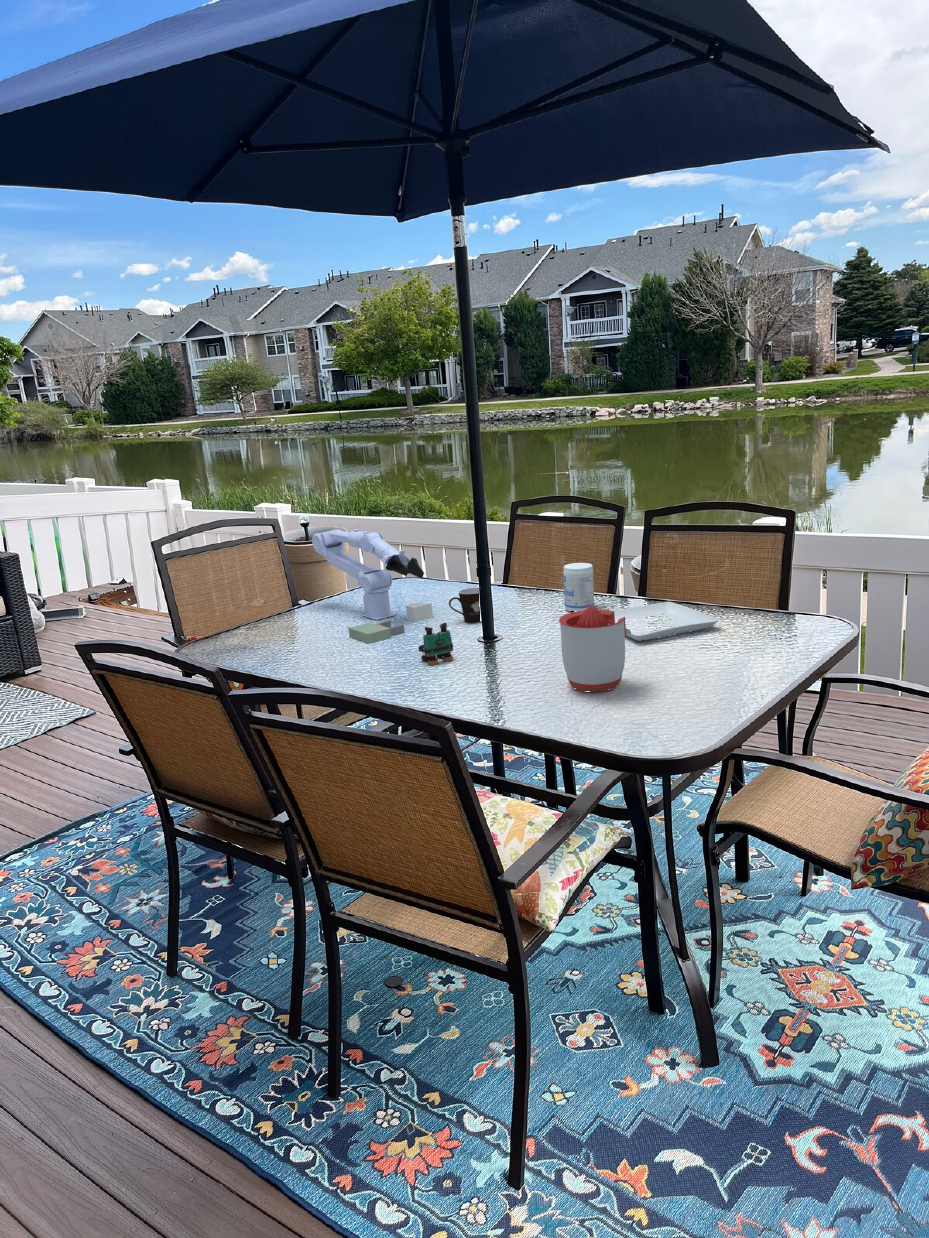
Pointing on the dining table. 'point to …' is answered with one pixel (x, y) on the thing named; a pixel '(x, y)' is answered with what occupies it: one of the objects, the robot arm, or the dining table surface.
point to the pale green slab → (375, 631)
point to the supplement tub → (578, 586)
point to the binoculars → (437, 645)
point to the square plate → (683, 615)
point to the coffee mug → (469, 604)
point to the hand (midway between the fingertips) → (414, 574)
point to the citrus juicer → (593, 648)
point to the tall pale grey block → (419, 611)
